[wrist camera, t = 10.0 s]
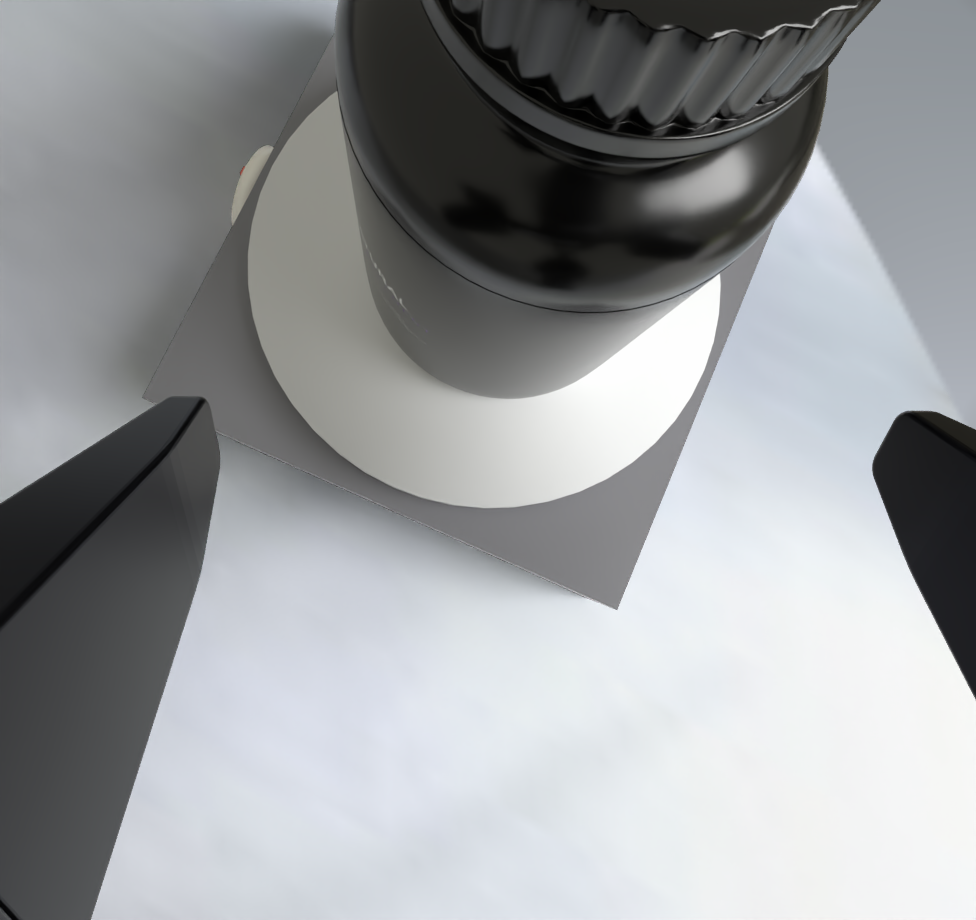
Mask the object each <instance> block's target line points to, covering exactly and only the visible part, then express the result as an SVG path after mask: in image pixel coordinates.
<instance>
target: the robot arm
mask: <svg viewBox="0 0 976 920" xmlns="http://www.w3.org/2000/svg"><path fill="white" fill-rule="evenodd" d="M219 469H220V451H219V446H218V441H217V436H216V431H215V426H214V422H213V417H212V412H211V408H210V405H209V403H208V401H207V400H206V399H205V398H204V397H201V396H170V397H168V398H166V399H165V400H163V401H161V402H160V403H158V404H157V405H155V406H154V407H152V408H150V409H149V410H147V411H146V412H144V413H142V414H141V415H139V416H138V417H136V418H135V419H133V420H131V421H130V422H128V423H127V424H125V425H123V426H122V427H120V428H119V429H117V430H116V431H114V432H112V433H111V434H109V435H108V436H106V437H105V438H103V439H101V440H100V441H98V442H97V443H95V444H93V445H92V446H90V447H89V448H87V449H86V450H84V451H82V452H81V453H79V454H78V455H76V456H74V457H73V458H71V459H70V460H68V461H67V462H65V463H63V464H62V465H60V466H59V467H57V468H56V469H54V470H52V471H51V472H49V473H48V474H46V475H44V476H43V477H41V478H40V479H38V480H37V481H35V482H33V483H32V484H30V485H29V486H27V487H25V488H24V489H22V490H21V491H19V492H18V493H16V494H14V495H13V496H11V497H10V498H8V499H7V500H5V501H3V502H2V503H0V920H91V917H92V914H93V911H94V908H95V905H96V902H97V899H98V895H99V892H100V889H101V886H102V883H103V880H104V877H105V873H106V870H107V867H108V864H109V861H110V858H111V855H112V852H113V848H114V845H115V842H116V839H117V836H118V833H119V830H120V826H121V823H122V820H123V817H124V814H125V811H126V808H127V804H128V801H129V798H130V795H131V792H132V789H133V786H134V782H135V779H136V776H137V773H138V770H139V767H140V764H141V761H142V757H143V754H144V751H145V748H146V745H147V742H148V739H149V735H150V732H151V729H152V726H153V723H154V720H155V717H156V713H157V710H158V707H159V704H160V701H161V698H162V695H163V691H164V688H165V685H166V682H167V679H168V676H169V673H170V670H171V666H172V663H173V660H174V657H175V654H176V651H177V648H178V644H179V641H180V638H181V635H182V632H183V629H184V626H185V622H186V619H187V616H188V613H189V610H190V607H191V604H192V600H193V597H194V594H195V591H196V588H197V584H198V581H199V577H200V574H201V569H202V564H203V559H204V554H205V548H206V543H207V537H208V532H209V526H210V520H211V515H212V509H213V504H214V498H215V492H216V487H217V481H218V475H219ZM872 471H873V476H874V479H875V482H876V485H877V487H878V490H879V493H880V495H881V498H882V500H883V503H884V506H885V508H886V511H887V513H888V516H889V519H890V521H891V524H892V526H893V529H894V532H895V534H896V537H897V539H898V542H899V545H900V547H901V550H902V553H903V555H904V557H905V560H906V562H907V565H908V567H909V569H910V572H911V574H912V576H913V578H914V580H915V582H916V584H917V586H918V588H919V590H920V592H921V594H922V596H923V598H924V600H925V602H926V604H927V606H928V608H929V609H930V611H931V613H932V615H933V617H934V619H935V621H936V623H937V625H938V627H939V629H940V631H941V633H942V635H943V637H944V639H945V641H946V643H947V645H948V647H949V649H950V651H951V652H952V654H953V656H954V658H955V660H956V662H957V664H958V666H959V668H960V670H961V672H962V674H963V676H964V678H965V680H966V682H967V684H968V686H969V688H970V690H971V692H972V694H973V695H974V697H975V699H976V430H975V429H973V428H971V427H969V426H966V425H964V424H962V423H960V422H958V421H955V420H953V419H951V418H949V417H947V416H944V415H942V414H940V413H937V412H933V411H905V412H903V413H901V414H900V415H898V416H897V417H896V419H895V420H894V422H893V424H892V425H891V427H890V429H889V431H888V433H887V435H886V437H885V438H884V440H883V442H882V444H881V446H880V448H879V450H878V451H877V453H876V455H875V457H874V460H873V465H872Z"/></svg>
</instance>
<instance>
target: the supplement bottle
mask: <svg viewBox="0 0 976 920" xmlns="http://www.w3.org/2000/svg"><path fill="white" fill-rule="evenodd" d="M880 1H881V0H338V5H337V10H336V19H335V33H334V48H335V73H336V85H337V92H338V99H339V107H340V114H341V120H342V126H343V133H344V139H345V145H346V151H347V157H348V163H349V170H350V176H351V182H352V188H353V194H354V200H355V206H356V212H357V219H358V225H359V231H360V237H361V243H362V249H363V255H364V261H365V267H366V272H367V277H368V281H369V285H370V289H371V294H372V297H373V300H374V302H375V305H376V308H377V310H378V312H379V314H380V317H381V319H382V321H383V323H384V325H385V326H386V328H387V330H388V331H389V333H390V335H391V336H392V337H393V339H394V340H395V342H396V343H397V344H398V346H399V347H400V348H401V349H402V350H403V351H404V352H405V354H406V355H407V356H408V357H409V358H410V359H411V360H413V361H414V362H415V363H416V364H417V365H418V366H419V367H421V368H422V369H423V370H425V371H426V372H427V373H429V374H430V375H432V376H433V377H435V378H436V379H438V380H440V381H441V382H443V383H446V384H448V385H450V386H452V387H454V388H456V389H459V390H462V391H464V392H467V393H471V394H475V395H479V396H484V397H490V398H500V399H521V398H528V397H535V396H539V395H544V394H547V393H550V392H553V391H556V390H559V389H562V388H564V387H566V386H568V385H570V384H572V383H574V382H576V381H578V380H579V379H581V378H583V377H585V376H586V375H588V374H589V373H590V372H592V371H593V370H595V369H596V368H598V367H599V366H600V365H602V364H603V363H604V362H606V361H607V360H608V359H610V358H611V357H612V356H614V355H615V354H616V353H618V352H619V351H620V350H621V349H623V348H624V347H625V346H627V345H628V344H629V343H630V342H632V341H633V340H634V339H636V338H637V337H638V336H640V335H641V334H642V333H643V332H645V331H646V330H647V329H649V328H650V327H651V326H652V325H654V324H655V323H656V322H658V321H659V320H660V319H662V318H663V317H664V316H665V315H667V314H668V313H669V312H671V311H672V310H673V309H674V308H676V307H677V306H678V305H680V304H681V303H682V302H684V301H685V300H686V299H687V298H689V297H690V296H691V295H693V294H694V293H695V292H696V291H698V290H699V289H700V288H702V287H703V286H704V285H706V284H707V283H708V282H709V281H711V280H712V279H713V278H715V277H716V276H717V275H718V274H720V273H721V272H722V271H724V270H725V269H726V268H727V267H729V266H730V265H731V264H732V263H733V262H734V261H735V260H736V259H737V258H739V257H740V256H741V255H742V254H743V253H744V252H745V251H746V250H747V249H748V248H749V247H751V246H752V245H753V244H754V243H755V242H756V241H757V240H758V239H759V238H760V237H761V236H762V235H763V234H764V232H765V231H766V230H767V229H768V228H769V227H770V226H771V225H772V224H773V222H774V221H775V220H776V219H777V217H778V216H779V214H780V213H781V212H782V210H783V209H784V207H785V206H786V205H787V203H788V202H789V200H790V198H791V197H792V195H793V193H794V191H795V190H796V188H797V186H798V184H799V183H800V181H801V179H802V177H803V175H804V173H805V170H806V168H807V166H808V163H809V161H810V159H811V156H812V153H813V150H814V147H815V144H816V141H817V137H818V134H819V131H820V126H821V122H822V117H823V112H824V107H825V102H826V93H827V83H828V66H829V65H830V64H831V62H832V61H833V59H834V58H835V57H836V55H837V54H838V52H839V51H840V50H841V48H842V46H843V44H844V42H845V41H846V39H847V37H848V36H849V35H850V34H851V33H852V32H853V31H854V29H855V28H856V27H857V26H858V25H859V24H860V23H861V22H862V21H863V20H864V19H865V17H866V16H867V15H868V14H869V13H870V12H871V11H872V10H873V9H874V8H875V6H876V5H877V4H878V3H879V2H880Z"/></svg>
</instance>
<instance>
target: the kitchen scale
mask: <svg viewBox="0 0 976 920" xmlns="http://www.w3.org/2000/svg"><path fill="white" fill-rule="evenodd" d="M240 175H241V177H240V179H239V182H238V184H237V187H236V191H235V194H234V198H233V204H232V212H231V221H232V228H231V230H230V232H229V234H228V236H227V238H226V239H225V241H224V243H223V245H222V247H221V249H220V251H219V253H218V255H217V256H216V258H215V260H214V262H213V264H212V266H211V268H210V270H209V272H208V274H207V275H206V277H205V279H204V281H203V283H202V285H201V287H200V289H199V291H198V293H197V294H196V296H195V298H194V300H193V302H192V304H191V306H190V308H189V310H188V312H187V313H186V315H185V317H184V319H183V321H182V323H181V325H180V327H179V329H178V330H177V332H176V334H175V336H174V338H173V340H172V342H171V344H170V346H169V348H168V349H167V351H166V353H165V355H164V357H163V359H162V361H161V363H160V365H159V367H158V368H157V370H156V372H155V374H154V376H153V378H152V380H151V382H150V384H149V385H148V387H147V389H146V391H145V393H144V395H143V397H142V398H144V399H146V400H148V401H151V402H153V403H155V404H158V403H160V402H161V401H163V400H165V399H166V398H168V397H170V396H201V397H204V398H205V399H206V400H207V401H208V403H209V405H210V408H211V412H212V417H213V422H214V426H215V431H216V432H217V433H219V434H221V435H223V436H226V437H228V438H230V439H232V440H235V441H237V442H239V443H241V444H244V445H246V446H248V447H250V448H253V449H255V450H257V451H259V452H261V453H264V454H266V455H268V456H270V457H273V458H275V459H277V460H279V461H282V462H284V463H286V464H288V465H291V466H293V467H295V468H297V469H300V470H302V471H304V472H306V473H308V474H311V475H313V476H315V477H317V478H320V479H322V480H324V481H326V482H329V483H331V484H333V485H335V486H338V487H340V488H342V489H344V490H346V491H349V492H351V493H353V494H355V495H358V496H360V497H362V498H364V499H367V500H369V501H371V502H373V503H376V504H378V505H380V506H382V507H384V508H387V509H389V510H391V511H393V512H396V513H398V514H400V515H402V516H405V517H407V518H409V519H411V520H414V521H416V522H418V523H420V524H422V525H425V526H427V527H429V528H431V529H434V530H436V531H438V532H440V533H443V534H445V535H447V536H449V537H452V538H454V539H456V540H458V541H460V542H463V543H465V544H467V545H469V546H472V547H474V548H476V549H478V550H481V551H483V552H485V553H487V554H490V555H492V556H494V557H496V558H498V559H501V560H503V561H505V562H507V563H510V564H512V565H514V566H516V567H519V568H521V569H523V570H525V571H528V572H530V573H532V574H534V575H536V576H539V577H541V578H543V579H545V580H548V581H550V582H552V583H554V584H557V585H559V586H561V587H563V588H566V589H568V590H570V591H572V592H574V593H577V594H579V595H581V596H583V597H586V598H588V599H590V600H593V601H596V602H598V603H601V604H603V605H606V606H608V607H611V608H613V609H616V610H617V609H618V606H619V604H620V601H621V599H622V597H623V594H624V592H625V589H626V587H627V584H628V582H629V579H630V577H631V574H632V572H633V569H634V567H635V565H636V562H637V560H638V557H639V555H640V552H641V550H642V547H643V545H644V542H645V540H646V537H647V535H648V532H649V530H650V528H651V525H652V523H653V520H654V518H655V515H656V513H657V510H658V508H659V505H660V503H661V500H662V498H663V496H664V493H665V491H666V488H667V486H668V483H669V481H670V478H671V476H672V473H673V471H674V468H675V466H676V463H677V461H678V459H679V456H680V454H681V451H682V449H683V446H684V444H685V441H686V439H687V436H688V434H689V431H690V429H691V427H692V424H693V422H694V419H695V417H696V414H697V412H698V409H699V407H700V404H701V402H702V399H703V397H704V395H705V392H706V390H707V387H708V385H709V382H710V380H711V377H712V375H713V372H714V370H715V367H716V365H717V362H718V360H719V358H720V355H721V353H722V350H723V348H724V345H725V343H726V340H727V338H728V335H729V333H730V330H731V328H732V326H733V323H734V321H735V318H736V316H737V313H738V311H739V308H740V306H741V303H742V301H743V298H744V296H745V294H746V291H747V289H748V286H749V284H750V281H751V279H752V276H753V274H754V271H755V269H756V266H757V264H758V261H759V259H760V257H761V254H762V252H763V249H764V247H765V244H766V242H767V239H768V237H769V234H770V232H771V229H772V227H773V225H774V222H775V221H774V222H773V224H772V225H771V226H770V227H769V228H768V229H767V230H766V231H765V232H764V234H763V235H762V236H761V237H760V238H759V239H758V240H757V241H756V242H755V243H754V244H753V245H752V246H751V247H749V248H748V249H747V250H746V251H745V252H744V253H743V254H742V255H741V256H740V257H739V258H737V259H736V260H735V261H734V262H733V263H732V264H731V265H730V266H729V267H727V268H726V269H725V270H724V271H722V272H721V273H720V274H718V275H717V276H716V277H715V278H713V279H712V280H711V281H709V282H708V283H707V284H706V285H704V286H703V287H702V288H700V289H699V290H698V291H696V292H695V293H694V294H693V295H691V296H690V297H689V298H687V299H686V300H685V301H684V302H682V303H681V304H680V305H678V306H677V307H676V308H674V309H673V310H672V311H671V312H669V313H668V314H667V315H665V316H664V317H663V318H662V319H660V320H659V321H658V322H656V323H655V324H654V325H652V326H651V327H650V328H649V329H647V330H646V331H645V332H643V333H642V334H641V335H640V336H638V337H637V338H636V339H634V340H633V341H632V342H630V343H629V344H628V345H627V346H625V347H624V348H623V349H621V350H620V351H619V352H618V353H616V354H615V355H614V356H612V357H611V358H610V359H608V360H607V361H606V362H604V363H603V364H602V365H600V366H599V367H598V368H596V369H595V370H593V371H592V372H590V373H589V374H588V375H586V376H585V377H583V378H581V379H579V380H578V381H576V382H574V383H572V384H570V385H568V386H566V387H564V388H562V389H559V390H556V391H553V392H550V393H547V394H544V395H539V396H535V397H528V398H521V399H500V398H490V397H484V396H479V395H475V394H471V393H467V392H464V391H462V390H459V389H456V388H454V387H452V386H450V385H448V384H446V383H443V382H441V381H440V380H438V379H436V378H435V377H433V376H432V375H430V374H429V373H427V372H426V371H425V370H423V369H422V368H421V367H419V366H418V365H417V364H416V363H415V362H414V361H413V360H411V359H410V358H409V357H408V356H407V355H406V354H405V352H404V351H403V350H402V349H401V348H400V347H399V346H398V344H397V343H396V342H395V340H394V339H393V337H392V336H391V335H390V333H389V331H388V330H387V328H386V326H385V325H384V323H383V321H382V319H381V317H380V314H379V312H378V310H377V308H376V305H375V302H374V300H373V297H372V294H371V289H370V285H369V281H368V277H367V272H366V267H365V261H364V255H363V249H362V243H361V237H360V231H359V225H358V219H357V212H356V206H355V200H354V194H353V188H352V182H351V176H350V170H349V163H348V157H347V151H346V145H345V139H344V133H343V126H342V120H341V114H340V107H339V99H338V92H337V85H336V73H335V48H334V35H333V36H332V38H331V40H330V42H329V44H328V46H327V48H326V50H325V52H324V53H323V55H322V57H321V59H320V61H319V63H318V65H317V67H316V69H315V71H314V72H313V74H312V76H311V78H310V80H309V82H308V84H307V86H306V88H305V90H304V91H303V93H302V95H301V97H300V99H299V101H298V103H297V105H296V107H295V109H294V110H293V112H292V114H291V116H290V118H289V120H288V122H287V124H286V126H285V127H284V129H283V131H282V133H281V135H280V137H279V139H278V141H277V143H276V145H275V146H274V147H272V146H270V145H266V146H263V147H261V148H260V149H259V150H257V151H256V152H255V153H254V155H253V156H252V157H251V158H250V160H249V161H248V163H247V165H246V166H244V167H243V168H242V170H241V172H240Z"/></svg>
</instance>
